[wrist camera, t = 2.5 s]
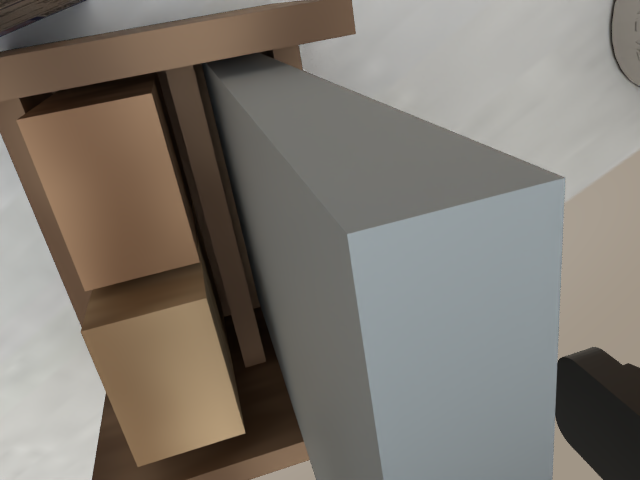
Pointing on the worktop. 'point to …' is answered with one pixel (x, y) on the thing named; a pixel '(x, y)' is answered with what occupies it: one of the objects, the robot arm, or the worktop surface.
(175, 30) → the rack
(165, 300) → the offcut
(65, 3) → the beverage box
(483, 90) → the worktop surface
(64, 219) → the offcut
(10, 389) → the worktop surface
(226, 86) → the sheet
